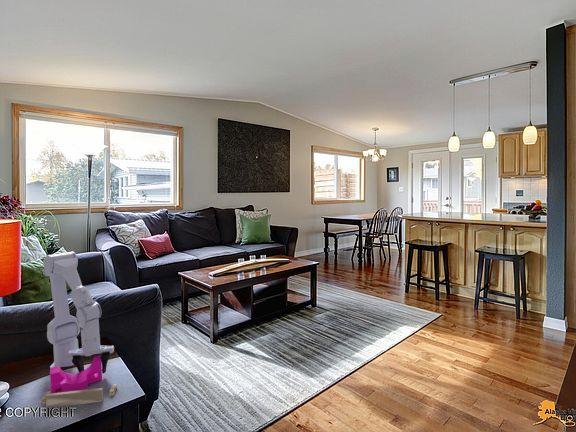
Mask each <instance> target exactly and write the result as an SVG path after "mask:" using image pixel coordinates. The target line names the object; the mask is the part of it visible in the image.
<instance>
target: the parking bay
mask: <svg viewBox="0 0 576 432" xmlns="http://www.w3.org/2000/svg"><path fill="white" fill-rule="evenodd" d="M117 389H118V383H113V384H112V386H111V387H110V390H109V396H110V397H113V396H114V395H115V393H116V391H117ZM103 390H104V387H99V388H97V387H96V388H89V389H88V388H87V389H83V390H78V391H70V392H61V393H52V394H51V390H49V391H47V392H45V394H44V395H43V397H42V398H41V399H40V401H41V402H40V404H42V405H43V404H44V405H45V404H46V409H52V408H58V407H59V408H61V407H69V406H76V405H84V404H92V403H101V402H103V400H104V391H103Z"/></svg>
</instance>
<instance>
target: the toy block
mask: <svg viewBox="0 0 576 432" xmlns="http://www.w3.org/2000/svg"><path fill="white" fill-rule="evenodd" d="M100 357H101V355H97V356H93V359H92V362H91V363H90V365H88V367H87V368H86V369H85V368H84V371H82V372H79V371H78V372H77V373H68V372H66V371H63V369H62V367H60V366H56V367H52V368H50V367H49V378H50V391H51V394H52V393H61V392H70V391H78V390H87V389H88V388H89V387H88V384H92V383H95V382H99V381H102V380H103V374H102V363H101V359H100Z"/></svg>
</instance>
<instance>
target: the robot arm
mask: <svg viewBox="0 0 576 432" xmlns="http://www.w3.org/2000/svg"><path fill="white" fill-rule="evenodd" d="M78 259H79V258H78V255H77V253H76V252H74V251H68V252H62V253H56V254H47V255H45V257H44V258H43V262H42V264H43V270H44V272H43V273H44V276H45V277H49V281H50V290H51V297H52V307H53V313H54V317H53V319H52V320H51V321H50V322H49V323H47V325H46V329H47V331H46V338H47V341H48V342H49V343H50V344H52V345H53V347H52V348H53V360H54V361H53V363H52V364H51V365H50V366H49V369H50V368H52V367H56V366H60V368H65V367H66V368H67V367H73V366H75V367H76V369H77V371H78V373H79V372H82V371H84V370H85V365H84V364H85V363H84V362H85V357H91V356H92V355H100V359H101V366H102V375H103V374H106V372H107V366H108V362H109V358H110V357H111V354H113V353H114V352H115V346H114V345H101V335H100V322H99V318H101V317H102V315H103V314H102V311H103V310H102V308H101V305H100V303H99V302H97V301H96V300H95V299H93V297H92V295H91V293H90V291H89V289H88V287H86V286H83V284H82V280H81V277H80V274H79V273H78V269H77V268H78V264H79V263H78V262H79V260H78ZM67 285H68V286H69V288H70V290H71V292H70V295H69V296H70V298H71V300H72V302H73V304H74V306H75V309H76V314H75V315H76V316H73V315H71V314H70V305H69V297H68V290H67ZM79 335H80V337H81V348H79V339H78V338H77V337H78V336H79Z"/></svg>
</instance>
